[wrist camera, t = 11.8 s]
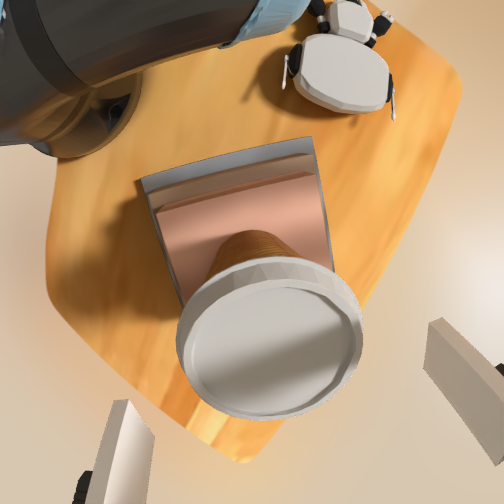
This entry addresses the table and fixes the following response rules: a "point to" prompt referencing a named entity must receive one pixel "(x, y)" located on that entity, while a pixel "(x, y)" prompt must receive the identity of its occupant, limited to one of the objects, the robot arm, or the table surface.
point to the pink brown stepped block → (238, 207)
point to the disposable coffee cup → (268, 331)
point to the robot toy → (342, 60)
